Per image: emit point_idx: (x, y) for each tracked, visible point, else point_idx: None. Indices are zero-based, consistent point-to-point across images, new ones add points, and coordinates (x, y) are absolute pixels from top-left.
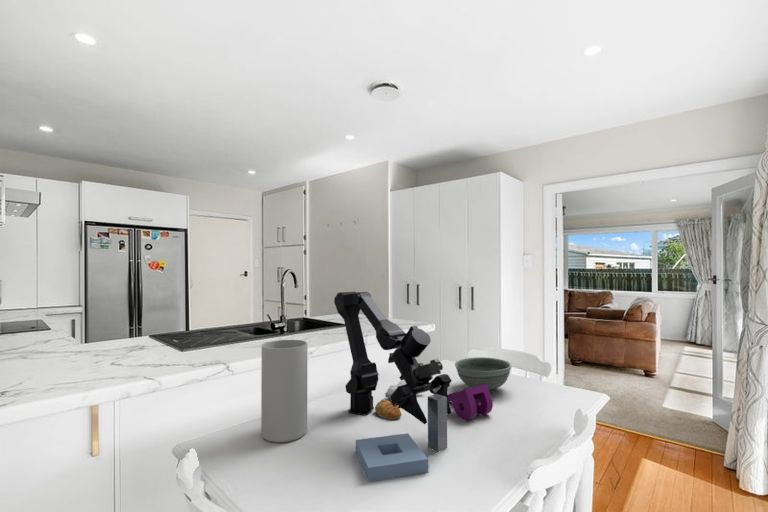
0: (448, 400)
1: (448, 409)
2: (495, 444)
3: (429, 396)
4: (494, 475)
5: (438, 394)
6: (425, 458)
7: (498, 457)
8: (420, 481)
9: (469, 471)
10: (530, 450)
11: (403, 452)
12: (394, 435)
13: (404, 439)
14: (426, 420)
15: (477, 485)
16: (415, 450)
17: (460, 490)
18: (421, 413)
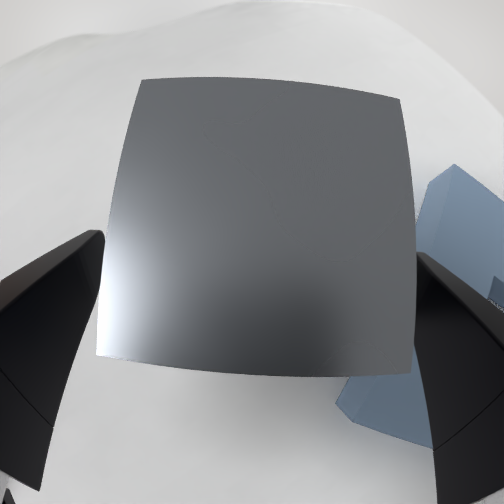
0: (7, 279)
1: (87, 251)
2: (65, 138)
3: (369, 361)
4: (268, 37)
5: (103, 299)
6: (460, 173)
7: (150, 77)
8: (471, 172)
9: None
10: (57, 63)
11: (493, 274)
12: (415, 437)
13: (418, 374)
14: (421, 253)
15: (352, 48)
16: (455, 248)
17: (407, 71)
18: (471, 291)
